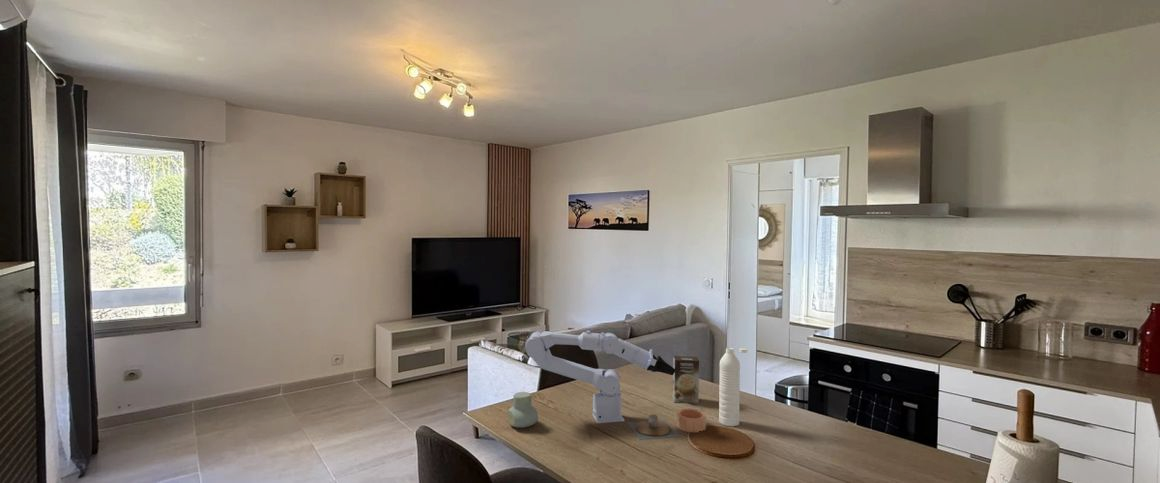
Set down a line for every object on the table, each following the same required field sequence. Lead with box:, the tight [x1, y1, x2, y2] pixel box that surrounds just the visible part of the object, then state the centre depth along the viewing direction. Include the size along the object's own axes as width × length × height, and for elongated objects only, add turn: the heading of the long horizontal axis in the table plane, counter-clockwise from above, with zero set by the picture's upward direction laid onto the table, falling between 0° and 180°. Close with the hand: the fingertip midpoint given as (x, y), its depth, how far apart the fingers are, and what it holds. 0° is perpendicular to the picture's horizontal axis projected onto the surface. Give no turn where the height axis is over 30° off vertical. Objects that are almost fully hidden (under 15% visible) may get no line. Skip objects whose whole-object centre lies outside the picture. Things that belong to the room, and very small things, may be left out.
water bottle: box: [718, 347, 748, 427], centre depth 160 cm, size 9×6×25 cm
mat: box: [627, 419, 681, 441], centre depth 154 cm, size 13×13×1 cm
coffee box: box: [671, 355, 700, 405], centre depth 181 cm, size 9×6×16 cm
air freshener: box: [506, 391, 539, 429], centre depth 159 cm, size 11×8×10 cm
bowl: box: [676, 408, 707, 433], centre depth 156 cm, size 9×9×4 cm
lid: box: [636, 414, 671, 436], centre depth 154 cm, size 11×11×4 cm
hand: (671, 371), depth 162 cm, fingers open, 7 cm apart
